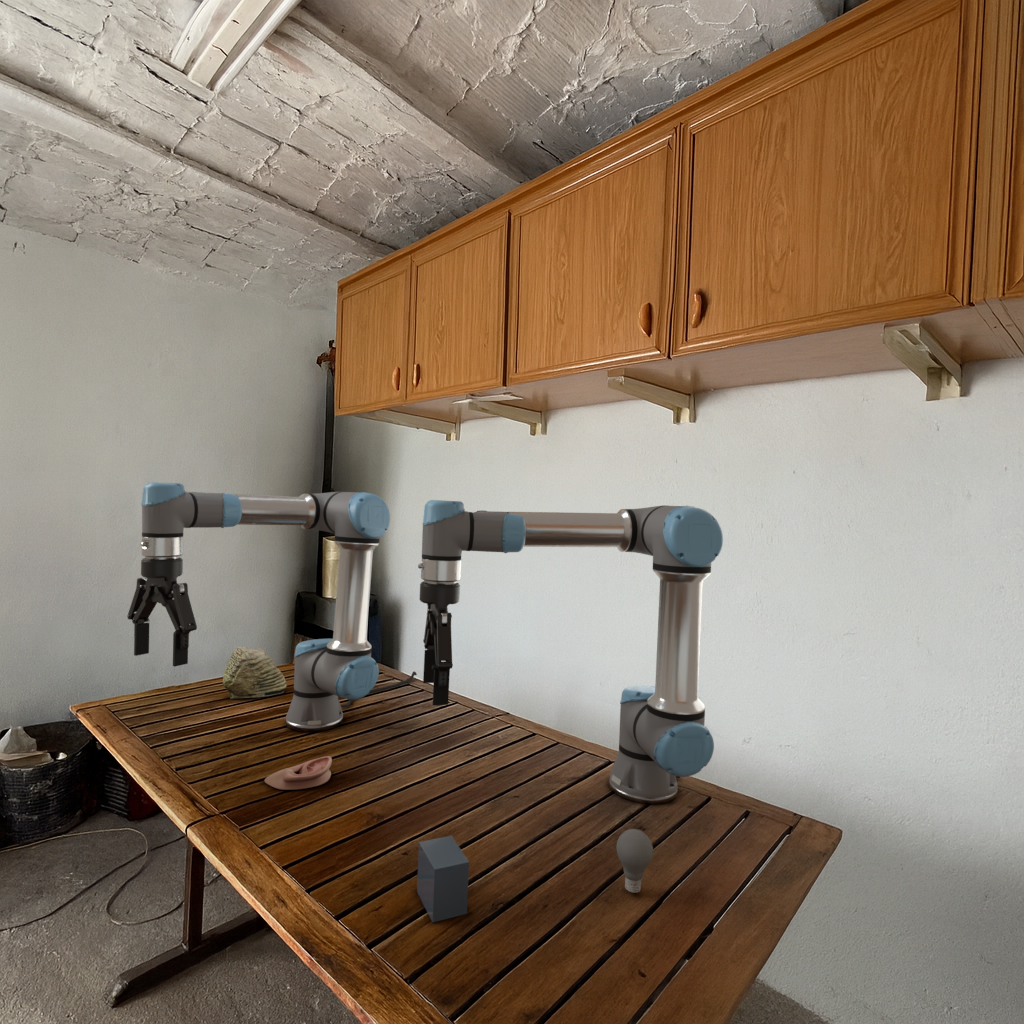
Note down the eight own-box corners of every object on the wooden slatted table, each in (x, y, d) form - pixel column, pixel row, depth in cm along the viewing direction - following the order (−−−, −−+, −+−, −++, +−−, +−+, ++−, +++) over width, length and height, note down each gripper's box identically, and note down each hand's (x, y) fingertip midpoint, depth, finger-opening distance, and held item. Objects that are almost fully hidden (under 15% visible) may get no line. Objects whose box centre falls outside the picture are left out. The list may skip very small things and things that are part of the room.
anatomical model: (256, 768, 137) (286, 748, 148) (256, 786, 137) (285, 765, 148) (313, 776, 134) (338, 755, 145) (312, 794, 134) (338, 772, 145)
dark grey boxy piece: (416, 891, 103) (418, 841, 103) (449, 884, 106) (451, 835, 105) (432, 922, 96) (434, 869, 96) (467, 914, 98) (469, 861, 98)
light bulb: (610, 879, 108) (613, 822, 108) (644, 879, 109) (647, 822, 109) (619, 902, 102) (622, 840, 102) (655, 901, 103) (658, 840, 103)
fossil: (218, 695, 195) (220, 647, 195) (278, 685, 208) (279, 640, 207) (228, 703, 189) (230, 653, 188) (289, 692, 201) (290, 645, 201)
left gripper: (109, 553, 133) (108, 653, 134) (181, 563, 121) (179, 673, 122) (145, 551, 140) (143, 646, 141) (217, 560, 127) (214, 665, 128)
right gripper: (413, 573, 131) (408, 675, 131) (429, 591, 107) (423, 716, 107) (449, 573, 133) (444, 674, 133) (472, 591, 109) (466, 714, 109)
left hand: (160, 659), depth 131 cm, fingers open, 13 cm apart
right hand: (434, 693), depth 120 cm, fingers open, 13 cm apart
